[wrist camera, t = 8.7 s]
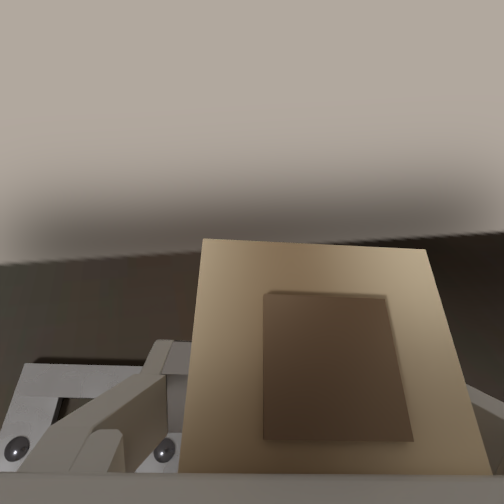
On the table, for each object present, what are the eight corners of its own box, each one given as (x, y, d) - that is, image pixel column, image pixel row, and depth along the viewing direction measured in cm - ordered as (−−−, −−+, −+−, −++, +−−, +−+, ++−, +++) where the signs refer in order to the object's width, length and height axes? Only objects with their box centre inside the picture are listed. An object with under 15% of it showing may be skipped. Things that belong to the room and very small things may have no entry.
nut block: (319, 339, 15) (430, 245, 7) (331, 464, 12) (525, 551, 4) (216, 336, 14) (202, 233, 6) (207, 463, 12) (167, 554, 4)
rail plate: (194, 369, 27) (193, 367, 26) (176, 552, 21) (174, 557, 20) (30, 364, 26) (24, 363, 25) (-36, 554, 20) (-47, 559, 19)
